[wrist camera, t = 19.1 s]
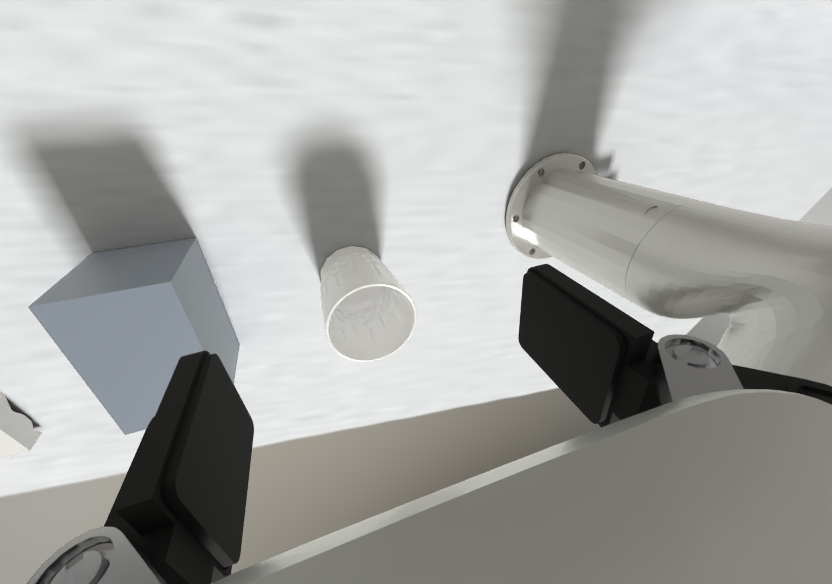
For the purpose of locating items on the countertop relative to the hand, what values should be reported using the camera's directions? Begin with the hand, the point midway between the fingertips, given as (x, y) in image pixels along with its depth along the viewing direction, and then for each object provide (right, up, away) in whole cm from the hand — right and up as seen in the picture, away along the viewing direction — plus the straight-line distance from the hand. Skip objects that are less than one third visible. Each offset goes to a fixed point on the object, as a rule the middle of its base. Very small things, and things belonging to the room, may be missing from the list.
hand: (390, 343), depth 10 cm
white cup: (-6, +4, +27) cm, 28 cm away
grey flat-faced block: (-22, 0, +22) cm, 31 cm away
